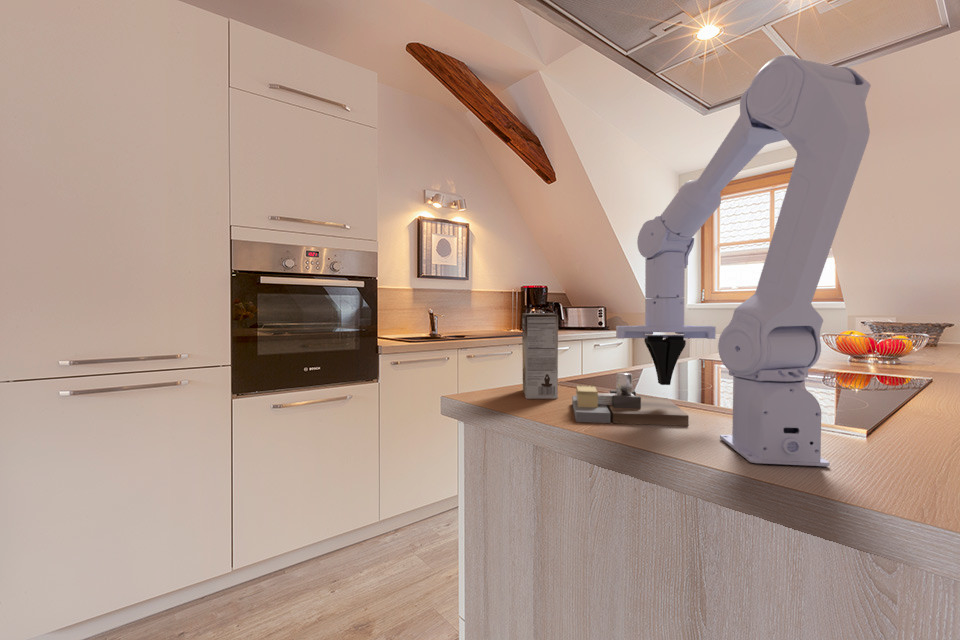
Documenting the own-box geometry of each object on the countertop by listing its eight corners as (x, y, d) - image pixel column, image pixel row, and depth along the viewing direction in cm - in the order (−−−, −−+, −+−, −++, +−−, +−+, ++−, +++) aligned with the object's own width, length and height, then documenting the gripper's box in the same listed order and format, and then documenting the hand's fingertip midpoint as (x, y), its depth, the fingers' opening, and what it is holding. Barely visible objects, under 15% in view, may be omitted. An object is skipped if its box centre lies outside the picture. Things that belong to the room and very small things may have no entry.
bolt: (635, 405, 70) (635, 375, 70) (577, 404, 71) (577, 374, 71) (632, 402, 72) (632, 372, 72) (576, 401, 74) (576, 371, 74)
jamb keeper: (610, 423, 66) (610, 396, 66) (576, 421, 67) (576, 395, 67) (601, 404, 78) (601, 382, 78) (572, 404, 79) (572, 381, 79)
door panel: (688, 425, 64) (688, 403, 64) (613, 423, 66) (613, 401, 66) (667, 406, 76) (667, 387, 76) (603, 404, 78) (603, 386, 78)
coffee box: (521, 389, 92) (521, 312, 92) (552, 389, 92) (552, 312, 91) (525, 399, 83) (524, 313, 82) (559, 399, 83) (559, 313, 82)
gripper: (704, 298, 73) (704, 380, 73) (613, 299, 75) (613, 378, 75) (721, 297, 66) (720, 388, 66) (620, 298, 68) (619, 386, 68)
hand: (664, 383), depth 70 cm, fingers closed
